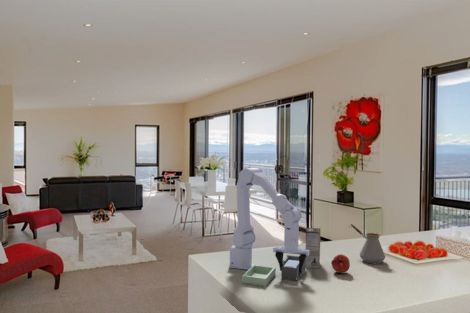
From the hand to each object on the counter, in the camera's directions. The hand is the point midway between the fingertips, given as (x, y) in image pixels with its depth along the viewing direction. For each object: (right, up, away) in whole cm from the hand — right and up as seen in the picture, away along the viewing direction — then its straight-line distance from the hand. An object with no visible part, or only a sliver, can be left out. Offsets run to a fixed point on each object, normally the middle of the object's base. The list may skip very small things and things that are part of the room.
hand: (290, 271), depth 167 cm
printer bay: (+3, -3, +8) cm, 8 cm away
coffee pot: (+40, -3, +31) cm, 50 cm away
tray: (-13, -3, -2) cm, 13 cm away
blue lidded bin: (+1, -3, +2) cm, 4 cm away
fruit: (+22, -3, +8) cm, 24 cm away
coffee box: (+12, -3, +19) cm, 23 cm away
